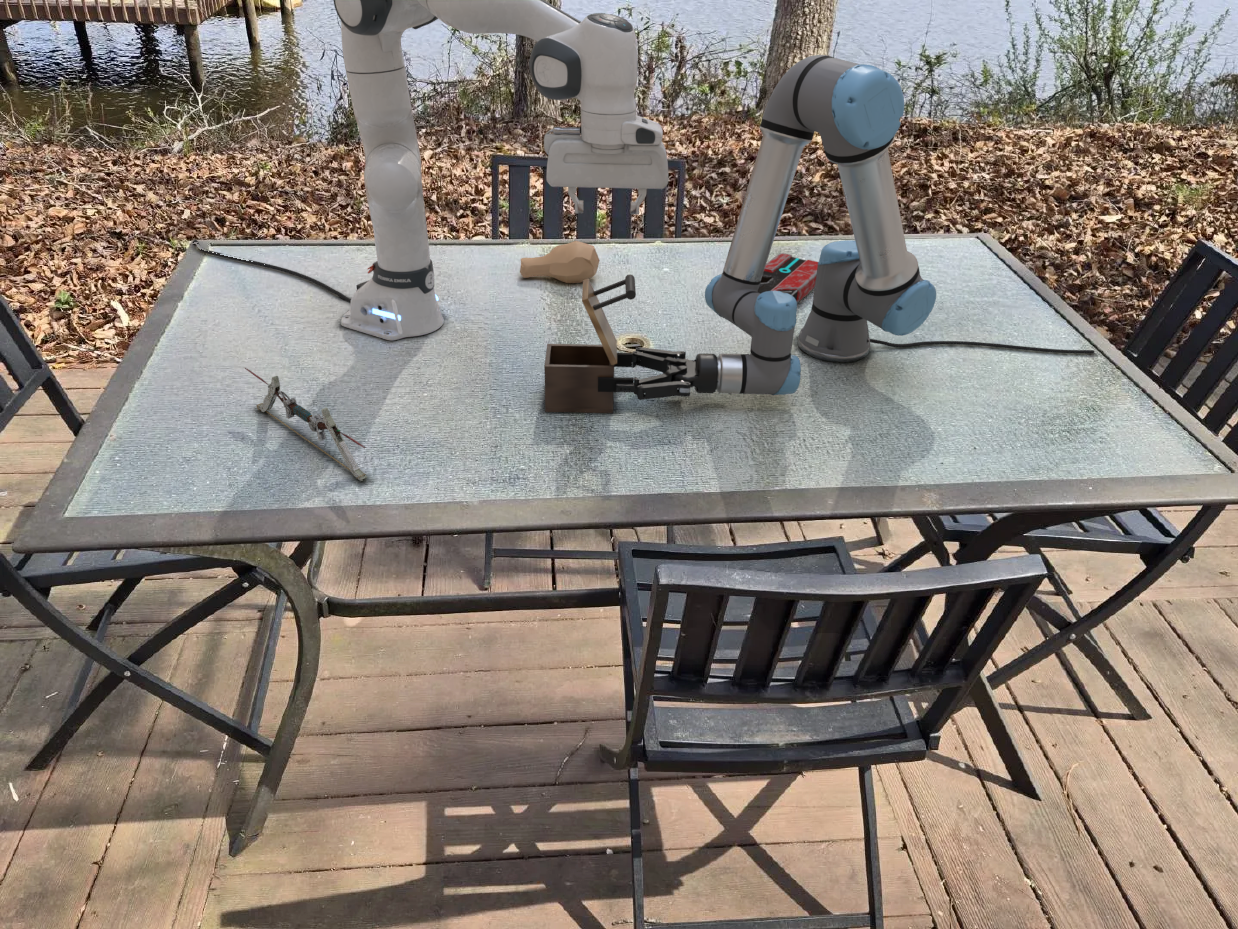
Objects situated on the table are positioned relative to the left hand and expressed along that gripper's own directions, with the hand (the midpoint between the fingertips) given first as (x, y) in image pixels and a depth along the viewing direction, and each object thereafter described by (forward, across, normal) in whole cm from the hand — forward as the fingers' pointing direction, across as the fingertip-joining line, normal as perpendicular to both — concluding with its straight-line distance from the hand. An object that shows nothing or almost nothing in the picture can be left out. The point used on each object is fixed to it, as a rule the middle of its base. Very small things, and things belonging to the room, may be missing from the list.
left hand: (606, 212), depth 149 cm
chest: (+36, -5, 0) cm, 37 cm away
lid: (+20, -1, 0) cm, 20 cm away
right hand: (+30, -1, 0) cm, 30 cm away
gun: (+37, +41, +56) cm, 78 cm away
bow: (+36, -52, -17) cm, 65 cm away
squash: (+36, -11, +62) cm, 72 cm away
